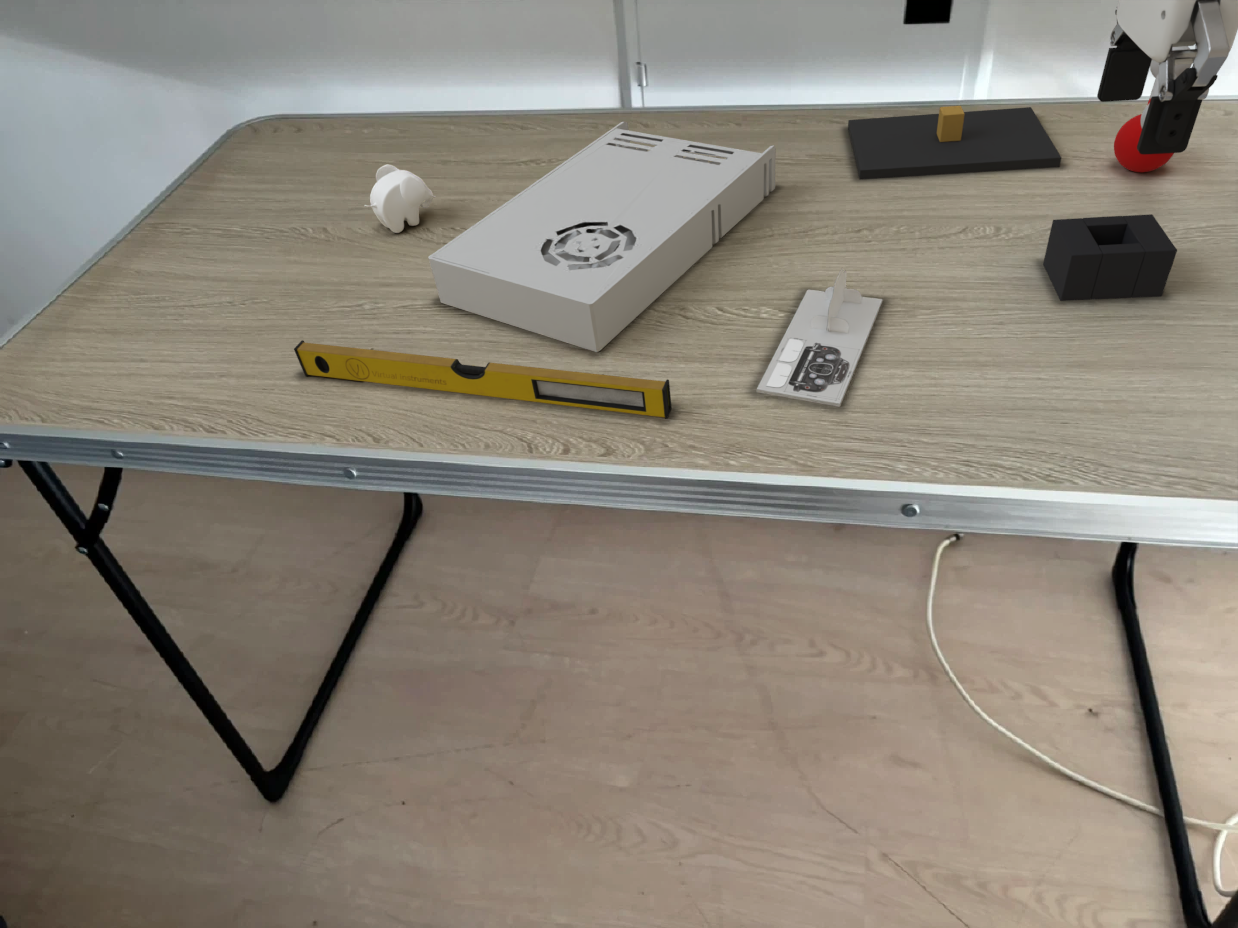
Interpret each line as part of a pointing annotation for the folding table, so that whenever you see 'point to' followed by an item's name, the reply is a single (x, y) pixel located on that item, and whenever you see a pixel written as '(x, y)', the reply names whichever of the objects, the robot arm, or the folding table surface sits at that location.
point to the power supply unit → (601, 235)
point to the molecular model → (1132, 130)
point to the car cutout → (822, 345)
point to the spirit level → (488, 379)
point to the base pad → (951, 143)
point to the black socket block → (1108, 257)
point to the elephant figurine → (398, 197)
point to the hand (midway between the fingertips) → (1138, 124)
